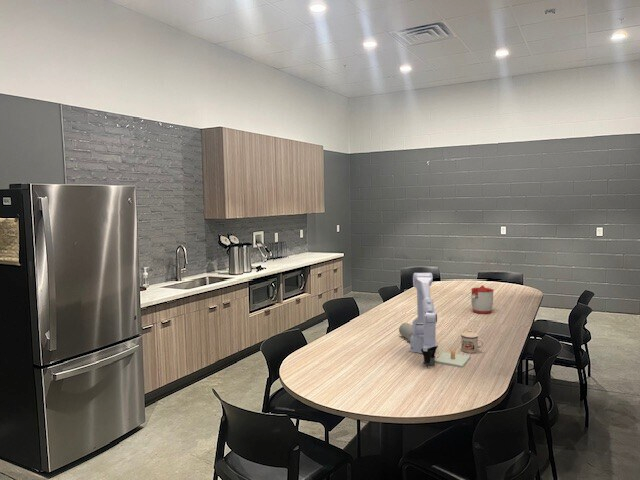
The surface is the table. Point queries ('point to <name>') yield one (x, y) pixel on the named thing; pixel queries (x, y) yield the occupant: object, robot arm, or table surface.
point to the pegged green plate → (452, 359)
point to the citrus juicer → (482, 300)
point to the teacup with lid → (470, 342)
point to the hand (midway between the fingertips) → (429, 361)
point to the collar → (432, 361)
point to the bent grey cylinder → (406, 330)
